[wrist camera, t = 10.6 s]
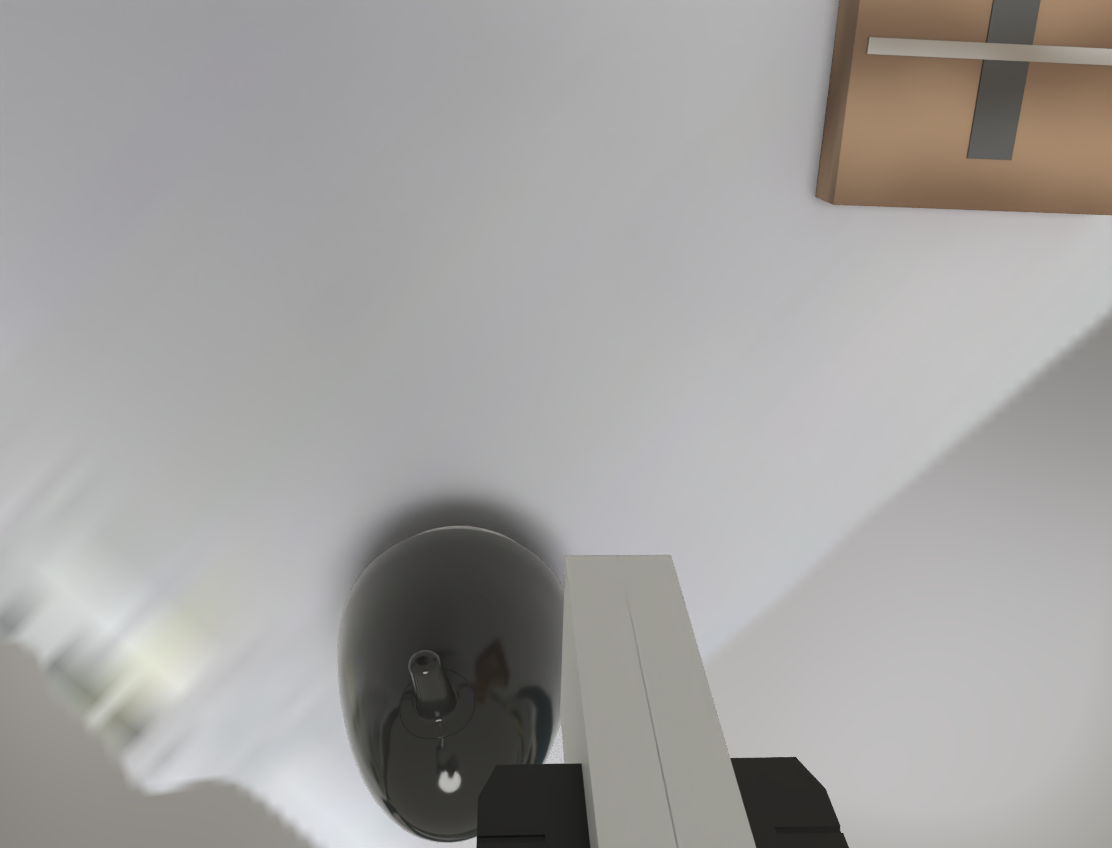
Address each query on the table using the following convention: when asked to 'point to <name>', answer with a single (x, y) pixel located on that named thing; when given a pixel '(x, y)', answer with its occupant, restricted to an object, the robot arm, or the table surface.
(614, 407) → the table surface
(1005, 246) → the table surface
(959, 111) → the fader board
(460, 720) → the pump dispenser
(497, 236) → the table surface
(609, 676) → the robot arm
